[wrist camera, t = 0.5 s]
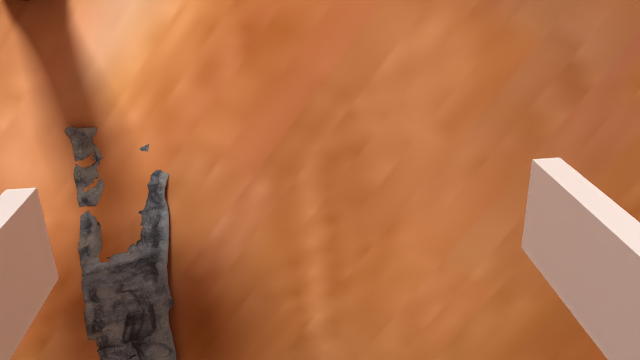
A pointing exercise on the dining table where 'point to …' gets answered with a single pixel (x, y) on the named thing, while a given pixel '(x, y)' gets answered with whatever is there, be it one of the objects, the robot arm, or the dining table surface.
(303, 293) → the dining table surface
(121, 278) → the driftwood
